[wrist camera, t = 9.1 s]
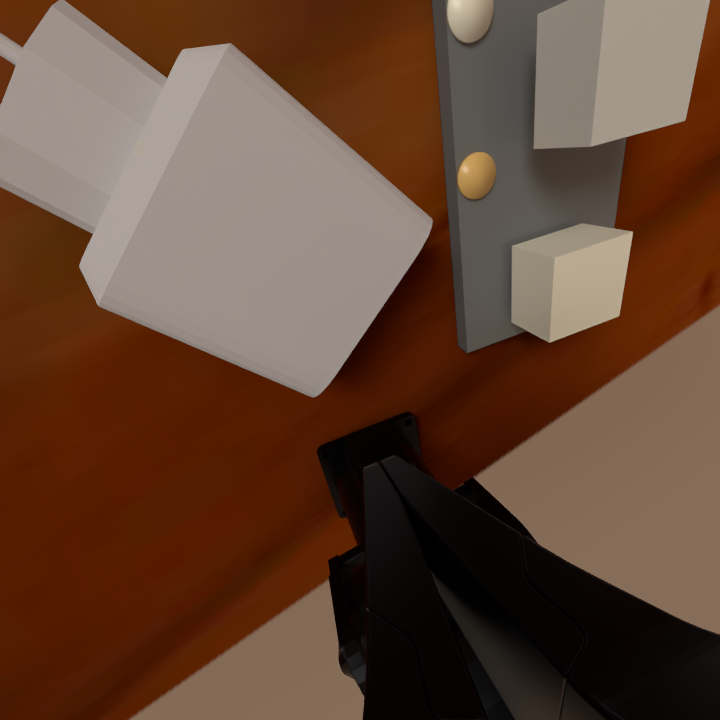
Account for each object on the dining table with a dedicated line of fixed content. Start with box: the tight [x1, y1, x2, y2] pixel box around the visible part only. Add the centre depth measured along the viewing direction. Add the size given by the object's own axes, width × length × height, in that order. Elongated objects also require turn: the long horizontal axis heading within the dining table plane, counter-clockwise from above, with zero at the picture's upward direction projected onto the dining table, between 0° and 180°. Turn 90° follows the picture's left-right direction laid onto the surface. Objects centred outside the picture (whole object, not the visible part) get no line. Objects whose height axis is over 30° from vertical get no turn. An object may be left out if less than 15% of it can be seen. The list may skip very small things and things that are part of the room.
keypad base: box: [432, 0, 627, 353], centre depth 18 cm, size 25×10×1 cm, turn 12°
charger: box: [0, 0, 433, 397], centre depth 14 cm, size 5×9×15 cm
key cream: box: [511, 223, 633, 343], centre depth 20 cm, size 4×4×3 cm
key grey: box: [534, 0, 710, 149], centre depth 15 cm, size 4×4×3 cm
